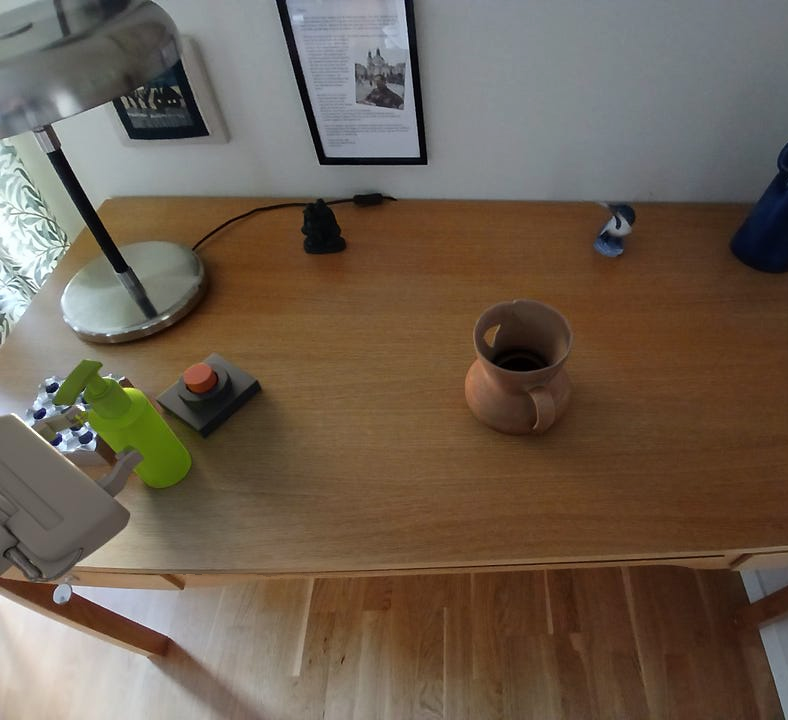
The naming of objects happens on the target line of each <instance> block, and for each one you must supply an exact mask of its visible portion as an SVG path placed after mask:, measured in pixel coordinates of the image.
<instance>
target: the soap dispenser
mask: <svg viewBox="0 0 788 720" xmlns="http://www.w3.org/2000/svg"><path fill="white" fill-rule="evenodd" d="M103 366H104V364H103V363H102V362H101V361H98V360H91V359H82V360H81V362H79V363H78V365H77V366H76V367H75V368H73V370H72V371H71V372H70V373H69V374H68V376H67V377H66V378H65V379H64V381H63V382H62V384H61V385H60V386H59V388H58V390H57V392H56V393H55V395H54V397H53V399H52V401H51V404H52V405H57V406H65V407H73V406H75V404H76V402H77V400H78V398H79V397H80V395H81V394H82V391H83V394H82V397H83V400H84V402H86V403H87V405H88V406H89V407H90V409H89V411H88V422H87V423H88V425H89V426H90V428H91V429H92V430H93V431H94V432H95V434H97V435H98V436H99V437H100V438H101V439H102V440H103V441H104V442H105V443H106V444H107V445H108V446H109V447H110V448H111V449H112V450H113V451H114V452H115V453H116V454H117V453H119V452H120V451H123V449H124V448H125V447H126V446H132V447H133V448H134V449H136V450H137V451H138V452H139V453H140V454H141V455H142V456H143V457H144V459H143V461H142V462H141V463H140V464H138V465H137V466H136V467H135V468H134V469H132V470H131V471H132V472H134V473H135V474H136V475H137V476H138V477H139V478H140V479H141V480H142V481H143V482H144V483H145V485H147V486H148V487H151V488H152V489H153V488H154V489H165V488H169V487H172V486H174V485H176V484H178V483H179V482H180V481H181V480H183V479H184V478H185V477H186V476H187V474H188V473H189V472H190V469H191V467H192V463H193V462H192V456H191V454H190V452H189V451H188V449H187V448H186V447H185V446H184V444H183V443H182V442H181V441H180V439H179V438H178V437H177V436H176V434H175V433H174V432H173V430H172V429H171V427H169V425H168V424H167V422H166V421H165V420H164V418H163V417H162V416H161V415H160V413H159V412H158V411H157V409H156V408H155V406H153V404H152V403H151V402H150V400H149V399H148V398H147V396H146V395H145V394H144V392H142V391H141V390H139V389H137V388H134V387H123V386H121V385H120V383H119V382H118V381H117V380H116V379H114V378H112V377H102V376H101V375H100V373H99V371H100V370H101V369H102V368H103Z"/></svg>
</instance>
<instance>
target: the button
mask: <svg viewBox="0 0 788 720" xmlns="http://www.w3.org/2000/svg"><path fill="white" fill-rule="evenodd" d="M184 372H185V373H184ZM184 372H183V373H184V376H183V379H184V381H185V383H186V384H187V386H188V387H189V389H190V390H191V391H192V392H194V393H198V394H200V393H204V392H207V391H209V390H211V389H212V388H213V387H214V386H215V385H216V383H217V377H216V375H215V374H214V372H213V370H212V368H211V367H210V366H209V365H207V364H203V363H202V362H200V363H195V364H193V365H191V366H189V367H187V369H186V370H185V371H184Z"/></svg>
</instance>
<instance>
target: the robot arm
mask: <svg viewBox="0 0 788 720" xmlns="http://www.w3.org/2000/svg"><path fill="white" fill-rule="evenodd" d="M88 413H89V411H88V410H86V409H85V408H83V407H82V406H81V405H80V404H74V405H72V406H71V407H70V408H68V409H67V410H66V411H64V412H63V413H58V414H55V415H52V416H48V417H45V418H41V419H39V420H38V421H37V422H35V423H34V424H32V425H31V426H30V425H29V424H28V423H27V422H26V421H24V420H23V419H22V418H21V417H19V416H18V415H17V414H16V413H13V412H12V413H7V414H3V415H2V414H1V415H0V577H1V576H2V575H4V574H5V573H7V571H8V570H9V569H11V568H12V567H13V566H14V567H15V568H16V569H18V570H19V571H21V572H22V575H23V577H24V578H25V579H26V580H27V581H29V582H31V583H33V584H35V583H49V582H53V581H57V580H59V579H61V578H62V577H63V576H65V575H66V574H67V573H68V572H69V571H70V570H71V569H73V568H74V567H75V566H76V565H77V564H78V563H80V562H81V561H83V560H84V559H86V558H88V557H89V556H91V555H92V554H94V553H95V552H96V551H97V550H99V549H100V548H101V547H103V546H105V545H106V544H107V543H108V542H110V541H111V540H112V539H114V538H115V537H116V536H117V535H118V534H120V533H121V532H122V531H123V530H124V529H125V528H126V527H127V526H128V524H129V521H130V519H131V512H130V511H129V510H128V509H127V508H126V507H125V506H124V505H123V504H121V503H120V502H119V501H118V500H117V499H115V497H116V496H117V495H119V493H121V492H122V491H123V490H124V489H125V487H126V484H127V482H128V480H129V477H130V475H131V473H132V471H133V470H132V469H134V468H135V467H136V466H137V465H138V464H140V463H141V462H142V461H143V459H144V457H143V456H142V455H141V454H140V453H139V452H138V451H137V450H136V449H134V448H133V447H132V446H126V447H125V448H124V449H123V451H120V452H119V453H116V454H115V455H114V457H115V458H116V459H117V461H116V463H115V464H114V467H112V469H111V471H110V473H109V474H106V473H103V474H102V475H101V476H100V477H98V478H97V479H95V480H93V479H92V477H90V476H89V475H87V474H86V473H85V472H84V471H83V470H82V469H80V468H79V467H78V466H77V465H76V464H75V463H73V462H72V461H71V460H70V458H68V457H66V456H65V455H64V454H63V453H62V452H61V451H59V450H58V449H57V448H56V447H54V446H53V445H52V443H51V442H53V441H54V440H56V439H57V438H58V437H59V434H58V433H59V432H62V431H65V430H68V429H70V428H73V427H76V428H77V429H78V430H79V429H81V428H82V427H84V426H85V424H86V423H88ZM44 576H45V577H44Z"/></svg>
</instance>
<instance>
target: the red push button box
mask: <svg viewBox="0 0 788 720" xmlns="http://www.w3.org/2000/svg"><path fill="white" fill-rule="evenodd" d="M201 363H203V364H207V365H209V366H210V367H211V368H212V370H213V372H214V374H215V375H216V377H217V383H216V385H215V386H214V387H213V388H212V389H211V390H209V391H207V392H204V393H200V394H198V393H194V392H192V391H191V390H190V389H189V387H188V386H187V384H186V383H185V381H184V379H183V376H184V373H185V371H184V372H183V373H181V374H180V376H179V378H178V380H177V381H176V382H175V383H174V384H172V385H171V386H170V387H168V388H167V389H166V390H164V391H163V392H162V393H161V394H159V395H158V396H157V397H155V399H154V400H155V401H156V402H157V404H158V405H159V407H161V409H162V410H164V411H165V412H167V413H168V414H170V415H171V416H172V417H173V418H175V419H176V420H178V421H179V422H180V423H182V424H183V425H185V426H186V427H188V428H189V429H190V430H192V431H193V432H194V433H195V434H197V435H198V436H200V437H201V438H202V439H204V440H205V439H207V438H208V437H209V436H210V435H211V434H213V433H214V432H215V431H216V430H217V429H218V428H219V427H221V426H222V425H223V424H224V423H225V422H226V421H228V419H230V418H231V417H232V416H234V414H235V413H236V412H238V411H239V410H240V409H241V408H243V406H244V405H246V404H247V403H248V402H249V401H250V400H251V399H253V397H255V396H257V394H259V392H260V391H261V390H262V388H263V387H262V386H261V384H260V382H259V380H258V378H255V377H254V376H253V375H251V374H249V373H248V372H247V371H245V370H243V369H242V368H241V367H238V366H237V365H236V364H234V363H232V362H230V361H229V360H227V359H226V358H225V357H223V356H222V355H219V354H218V353H216V352H213V353H211V354H210V355H209V356H208V357H207V358H205V359H204V360H203V361H201Z"/></svg>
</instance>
